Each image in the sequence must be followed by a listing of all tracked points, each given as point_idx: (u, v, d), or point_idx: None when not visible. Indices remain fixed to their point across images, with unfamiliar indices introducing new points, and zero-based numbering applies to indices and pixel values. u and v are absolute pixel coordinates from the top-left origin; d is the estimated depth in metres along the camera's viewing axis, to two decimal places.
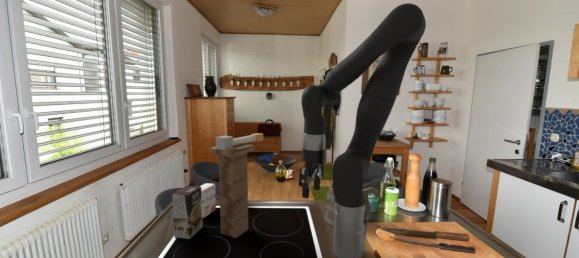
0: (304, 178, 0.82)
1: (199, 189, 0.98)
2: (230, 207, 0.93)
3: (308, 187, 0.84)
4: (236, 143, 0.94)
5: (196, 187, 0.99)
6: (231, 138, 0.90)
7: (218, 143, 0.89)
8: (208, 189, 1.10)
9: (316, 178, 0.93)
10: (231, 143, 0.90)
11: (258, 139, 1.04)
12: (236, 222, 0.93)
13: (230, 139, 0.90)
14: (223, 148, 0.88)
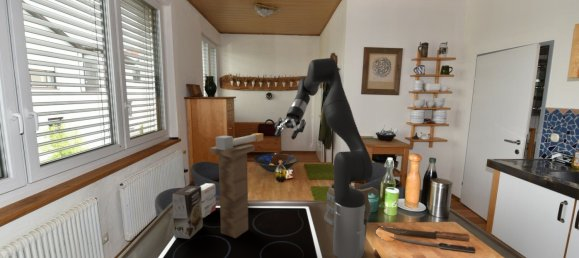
0: None
1: (199, 189, 0.98)
2: (230, 207, 0.93)
3: (277, 128, 1.23)
4: (236, 143, 0.94)
5: (196, 187, 0.99)
6: (231, 138, 0.90)
7: (218, 143, 0.89)
8: (208, 189, 1.10)
9: None
10: (231, 143, 0.90)
11: (258, 139, 1.04)
12: (236, 222, 0.93)
13: (230, 139, 0.90)
14: (223, 148, 0.88)
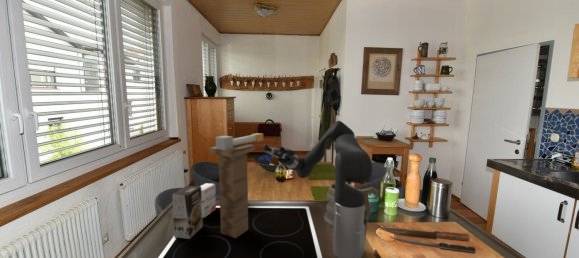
0: None
1: (199, 189, 0.98)
2: (230, 207, 0.93)
3: None
4: (236, 143, 0.94)
5: (196, 187, 0.99)
6: (231, 138, 0.90)
7: (218, 143, 0.89)
8: (208, 189, 1.10)
9: None
10: (231, 143, 0.90)
11: (258, 139, 1.04)
12: (236, 222, 0.93)
13: (230, 139, 0.90)
14: (223, 148, 0.88)
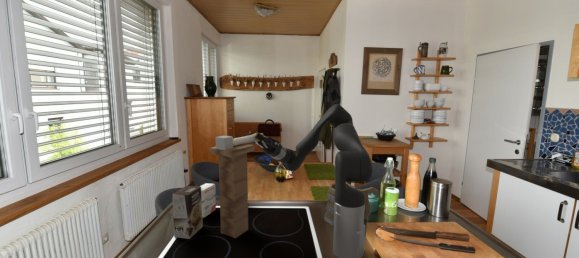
0: None
1: (199, 189, 0.98)
2: (230, 207, 0.93)
3: None
4: (236, 143, 0.94)
5: (196, 187, 0.99)
6: (231, 138, 0.90)
7: (218, 143, 0.89)
8: (208, 189, 1.10)
9: None
10: (231, 143, 0.90)
11: None
12: (236, 222, 0.93)
13: (230, 139, 0.90)
14: (223, 148, 0.88)
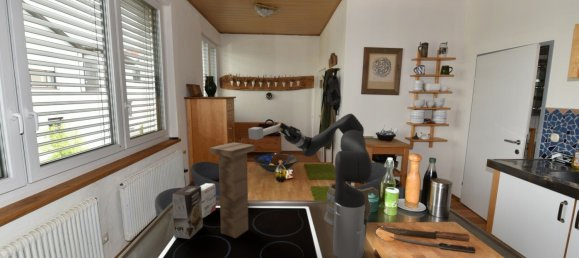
0: None
1: (199, 189, 0.98)
2: (230, 207, 0.93)
3: None
4: (265, 133, 1.08)
5: (196, 187, 0.99)
6: (261, 129, 1.04)
7: (251, 134, 1.03)
8: (208, 189, 1.10)
9: None
10: (261, 133, 1.05)
11: None
12: (236, 222, 0.93)
13: (261, 130, 1.04)
14: (255, 138, 1.02)
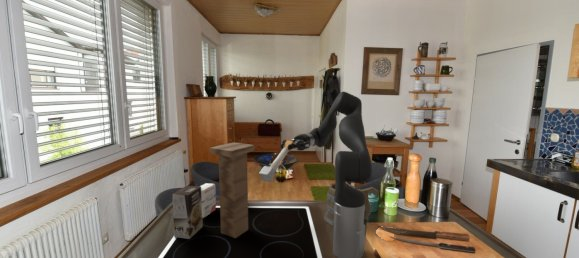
0: None
1: (199, 189, 0.98)
2: (230, 207, 0.93)
3: (285, 142, 1.18)
4: (276, 167, 1.07)
5: (196, 187, 0.99)
6: (272, 169, 1.03)
7: (263, 177, 1.03)
8: (208, 189, 1.10)
9: None
10: (273, 172, 1.04)
11: None
12: (236, 222, 0.93)
13: (271, 170, 1.03)
14: (268, 180, 1.02)
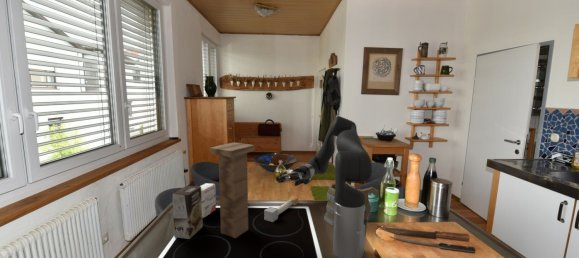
0: None
1: (199, 189, 0.98)
2: (230, 207, 0.93)
3: (282, 175, 1.22)
4: (279, 212, 1.11)
5: (196, 187, 0.99)
6: (277, 210, 1.08)
7: (266, 215, 1.06)
8: (208, 189, 1.10)
9: None
10: (277, 214, 1.08)
11: (295, 203, 1.22)
12: (236, 222, 0.93)
13: (276, 211, 1.07)
14: (271, 220, 1.05)
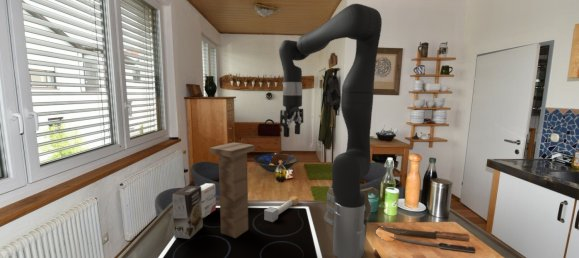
0: (284, 118, 0.98)
1: (199, 189, 0.98)
2: (230, 207, 0.93)
3: (288, 127, 1.00)
4: (279, 212, 1.11)
5: (196, 187, 0.99)
6: (277, 210, 1.08)
7: (266, 215, 1.06)
8: (208, 189, 1.10)
9: (296, 124, 1.08)
10: (277, 214, 1.08)
11: (295, 203, 1.22)
12: (236, 222, 0.93)
13: (276, 211, 1.07)
14: (271, 220, 1.05)
